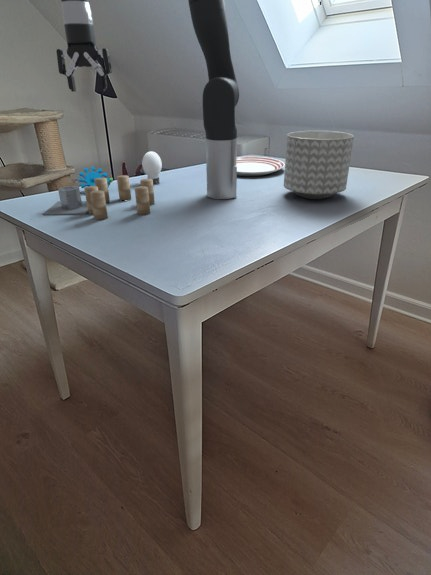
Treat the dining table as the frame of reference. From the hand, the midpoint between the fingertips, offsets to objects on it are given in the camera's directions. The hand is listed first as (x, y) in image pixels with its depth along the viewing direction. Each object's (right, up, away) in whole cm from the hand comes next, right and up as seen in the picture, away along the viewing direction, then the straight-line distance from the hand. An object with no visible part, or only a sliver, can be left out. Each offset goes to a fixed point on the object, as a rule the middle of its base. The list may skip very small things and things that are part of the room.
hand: (88, 91), depth 112 cm
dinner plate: (+50, -10, +45) cm, 68 cm away
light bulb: (+14, -19, +28) cm, 37 cm away
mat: (-6, -33, +2) cm, 34 cm away
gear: (-3, -24, +19) cm, 31 cm away
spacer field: (+9, -33, +2) cm, 34 cm away
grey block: (-5, -33, +2) cm, 33 cm away
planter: (+67, -28, +11) cm, 74 cm away
